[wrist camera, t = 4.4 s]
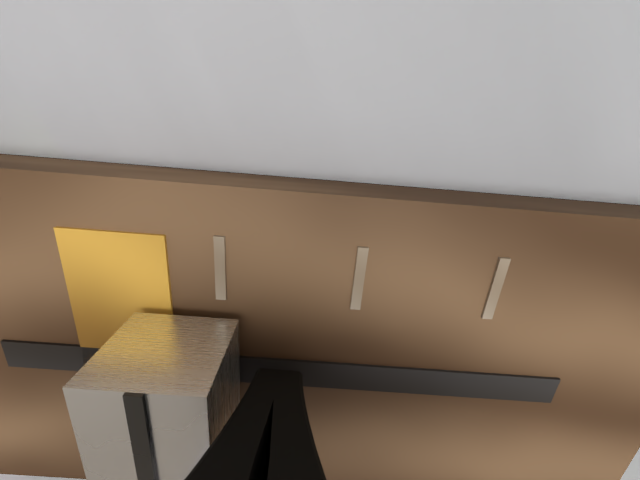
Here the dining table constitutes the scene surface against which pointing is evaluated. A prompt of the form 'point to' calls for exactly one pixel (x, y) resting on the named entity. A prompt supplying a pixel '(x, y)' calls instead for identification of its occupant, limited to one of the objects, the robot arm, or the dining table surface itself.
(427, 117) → the dining table surface
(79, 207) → the fader console
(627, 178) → the dining table surface
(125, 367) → the fader knob
